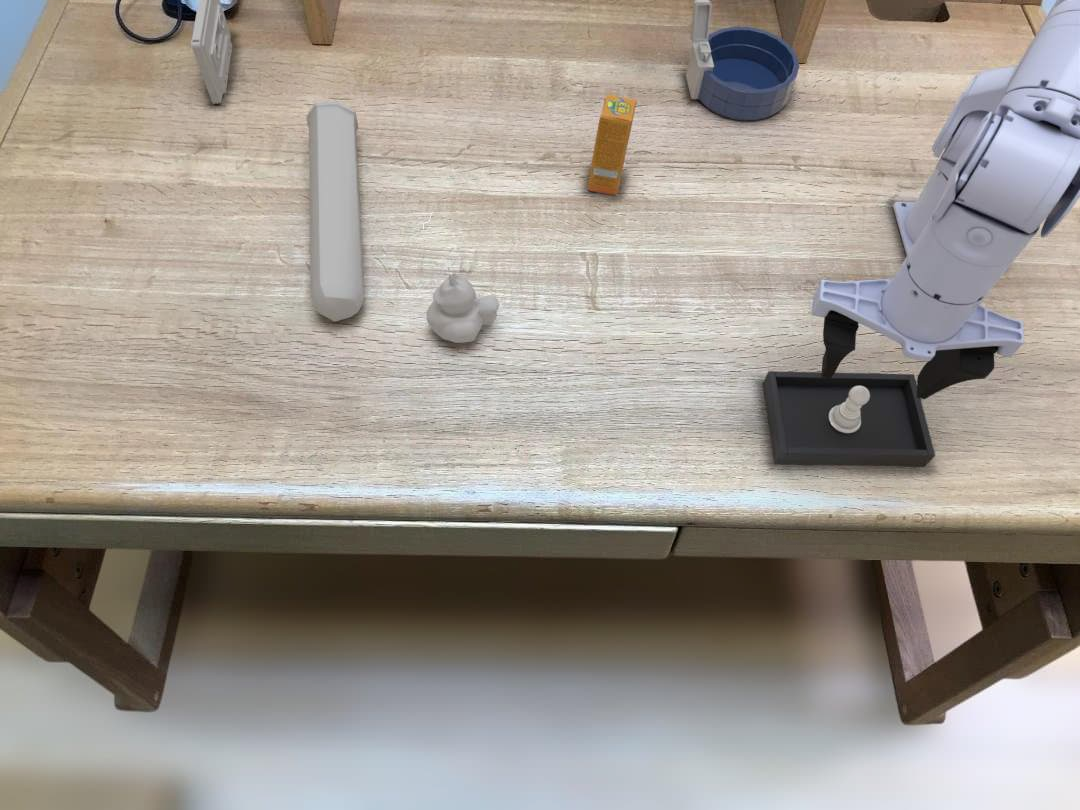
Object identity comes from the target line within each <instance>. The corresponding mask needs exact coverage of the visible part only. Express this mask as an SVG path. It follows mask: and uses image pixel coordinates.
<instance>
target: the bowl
mask: <svg viewBox="0 0 1080 810" xmlns="http://www.w3.org/2000/svg"><path fill="white" fill-rule="evenodd" d="M708 42H709V45H710V49H711V56H712V60H713V64H714V69H713V73H711V72H710V71H704V74H703V79H702V83H701V87H700V91H699V95H698V98H699V99H698V100H699V101H700V102H701V104H703V106H705V108H707V109H708V110H710V111H711V112H712V113H715V114H717V115H719V116H721V117H724V118H727V119H731V120H736V121H746V122H747V121H750V122H751V121H758V120H759V121H760V120H763V119H766V118H769V117H771V116H773V115H775V114H776V113H779V112H780V111H781V110H782V109H783V108H784V107H785V106H786V104H788V102H789V100H790V97H791V94H792V91H793V88H794V85H795V82H796V79H797V76H798V73H799V69H800V63H799V58H798V55H797V53H796V51H795V50H794V49H793V48H792V46H791V45H790V44H789V43H788V42H786V41H785V40H784V39H783V38H781V37H780V36H778V35H776V34H775V33H772V32H769V31H768V30H765V29H761V28H756V27H752V26H737V25H736V26H729V27H724V28H720V29H718V30H716V31H713V32H711V33H709V38H708Z"/></svg>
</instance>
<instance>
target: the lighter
mask: <svg viewBox="0 0 1080 810" xmlns="http://www.w3.org/2000/svg"><path fill="white" fill-rule="evenodd" d="M712 7H713V3H712V1H710V0H694V1H693V3H692V15H691V16H692V17H691V25H690V37H689V39H690V40H691V42H692V46H691V51H690V54H689V55H690V56H689V60H688V64H687V68H686V74H685V78H686V83H687V88H688V92H689V95H690V99H691V100H699V98H698V95H699V91H700V87H701V83H702V79H703V74H704V71H710V72H711V73H713V69H714V64H713V60H712V56H711V49H710V45H709V42H708V38H709V34H710V28H711V18H712V9H713V8H712Z"/></svg>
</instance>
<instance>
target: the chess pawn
mask: <svg viewBox="0 0 1080 810" xmlns="http://www.w3.org/2000/svg"><path fill="white" fill-rule="evenodd" d="M869 399H870V392H869V390H868V389H867V388H866V387H864V386H860V385H859V386H855V387H853V388H852V389H851V390H850V391H849V394H848V398H847V399H846V402H843V403H842V404H840V405H837V406H835V407H833V408H832V409H831V410H830V412H829V421H830V423H831V425H832V426H833V427H834V428H835V429H836V430H838V431H840V432H843V433H853V432H855V431H857V430H858V429H859V427H860V425H861V414H860V413H861V412H860V409H861V407H862V405H864V404H866V403H867V402H868V401H869Z"/></svg>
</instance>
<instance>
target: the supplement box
mask: <svg viewBox="0 0 1080 810" xmlns="http://www.w3.org/2000/svg"><path fill="white" fill-rule="evenodd" d="M636 107H637V100H635V99H632V98H628V97H624V96H619V95H615V94H608V93H607V94H605V97H604V101H603V107H602V110H601V113H600V116H599V119H598V124H597V131H596V136H595V141H594V147H593V153H592V160H591V165H590V172H589V178H588V184H587V185H588V186H587V189H588V191H589V192H594V193H600V194H604V195H605V194H606V195H611V196H617V195H618V193H619V190H620V185H621V182H622V174H623V171H624V165H625V159H626V156H627V155H626V154H627V149H628V145H629V140H630V135H631V131H632V126H633V121H634V117H635V112H636Z"/></svg>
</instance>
